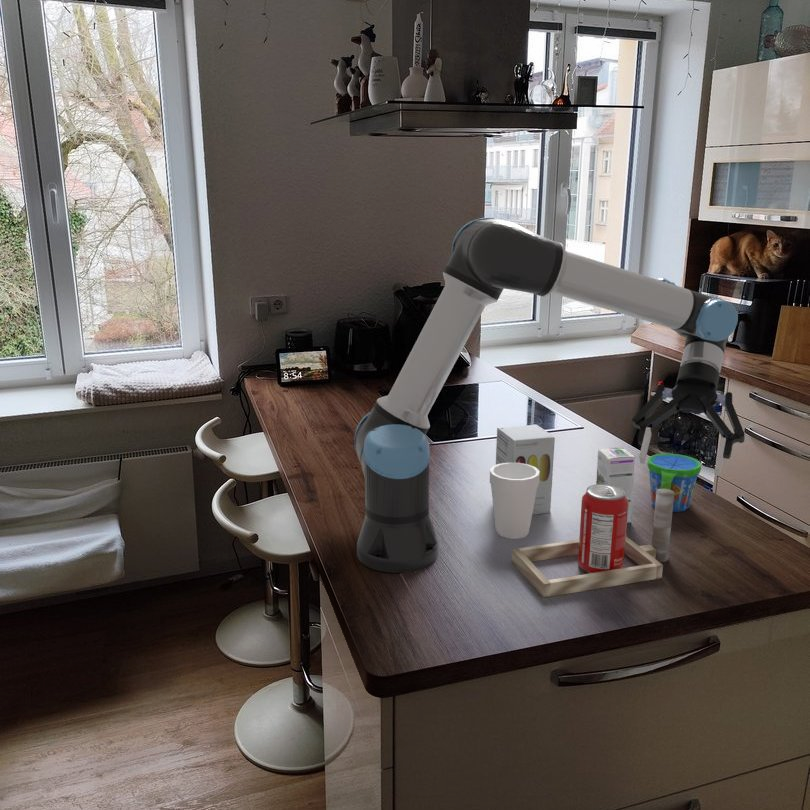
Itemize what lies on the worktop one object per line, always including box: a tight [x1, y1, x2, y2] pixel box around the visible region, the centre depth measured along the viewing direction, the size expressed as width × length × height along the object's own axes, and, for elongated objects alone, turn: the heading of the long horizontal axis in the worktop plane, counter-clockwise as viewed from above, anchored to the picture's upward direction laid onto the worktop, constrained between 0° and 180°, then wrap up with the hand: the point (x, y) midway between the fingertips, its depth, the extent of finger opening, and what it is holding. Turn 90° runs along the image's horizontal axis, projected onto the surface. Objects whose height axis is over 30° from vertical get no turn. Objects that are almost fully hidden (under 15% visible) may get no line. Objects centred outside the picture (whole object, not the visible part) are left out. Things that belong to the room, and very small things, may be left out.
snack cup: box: [647, 453, 702, 513], centre depth 162 cm, size 16×10×10 cm
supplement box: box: [495, 424, 556, 516], centre depth 161 cm, size 10×9×17 cm
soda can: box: [577, 484, 628, 574], centre depth 135 cm, size 8×8×15 cm
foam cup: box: [489, 463, 540, 540], centre depth 150 cm, size 10×9×13 cm
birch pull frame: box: [511, 489, 674, 598], centre depth 135 cm, size 28×13×13 cm, turn 106°
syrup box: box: [595, 447, 636, 524], centre depth 155 cm, size 6×6×14 cm
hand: (678, 466), depth 143 cm, fingers open, 13 cm apart
